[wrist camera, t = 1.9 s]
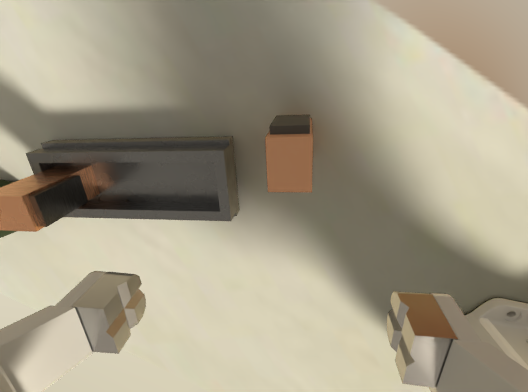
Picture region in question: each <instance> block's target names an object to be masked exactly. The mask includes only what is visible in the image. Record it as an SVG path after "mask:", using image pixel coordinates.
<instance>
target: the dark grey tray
mask: <svg viewBox="0 0 528 392" xmlns="http://www.w3.org/2000/svg"><path fill="white" fill-rule="evenodd" d="M41 144H42V147H43V148H42V149H38V150H35V151H32V152H28V153H26V156H27V158H28V161H29V163H30V166H31V168H32V171H33V173H34V175H32V176H29V177H27V178H24V179H21V180H19V181H16V182H13V183H11V184H8V185H6V186H3V187H0V230H5V231H35V232H36V231H38V230H40V229H42V228H43V227H47V226H49V225H50V224H52V223H54V222H55V221H57V220H59V219H60V218H62V217H85V218H126V219H167V220H209V221H231V220H232V219H233V217H234V216H237V214H238V212H239V199H238V189H237V178H236V168H235V157H234V146H233V136H226V137H179V138H132V139H84V140H52V141H48V142H44V143H41Z"/></svg>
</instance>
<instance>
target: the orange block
mask: <svg viewBox="0 0 528 392" xmlns="http://www.w3.org/2000/svg"><path fill="white" fill-rule="evenodd" d="M265 143H266V164H267V184H268V192H312V161H313V131H312V118H310V115H285V116H276V117H275V119H274V120H273V122H272V123H271V125H270V131H269V133H268V134H267V136H266V137H265Z"/></svg>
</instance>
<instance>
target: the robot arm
mask: <svg viewBox="0 0 528 392" xmlns="http://www.w3.org/2000/svg"><path fill="white" fill-rule="evenodd" d="M141 284H142V283H141V280H140V277H139V276H138V275H136V274H127V273H116V272H102V271H94V272H91V273H89V274H88V275H87V276H86V277H85V278H84V279H83V280H82V281H81V282H80V283H79V284H78V285H77V286H76V287H75V288H73V289H72V290H71V291H70V292H69V293H68V294H67V295H66V296H65V297H64V298H63V299H62V300H61V301H60V302H59V303H57V304H56V305H55V306H48V307H46V308H44V309H42V310H40V311H38V312H36V313H34V314H32V315H30V316H27V317H25V318H23V319H21V320H19V321H17V322H15V323H13V324H11V325H9V326H7V327H4V328H2V329H0V392H43V391H44V390H45V389H47V388H48V387H49V386H51V385H52V384H53V383H55V382H56V381H57V380H59V379H60V378H61V377H62V376H64V375H65V374H66V373H68V372H69V371H70V370H71V369H72V368H74V367H75V366H77V365H78V364H79V363H81V362H82V361H83V360H85V359H86V358H87V357H88V356H90V355H91V354H92V353H93V352H105V353H119V352H120V350H121V349H122V347H123V346H124V344H125V343H126V341H127V340H128V338H129V337H130V335H131V333H130V329H131V328H132V327H134V326H135V325H137V324H138V323H139V321H140V320H141V318H142V317H143V314H144V311H145V307H146V299H145V295H144V294H143V293H142V292H141V291H140V290H139V287H140V286H141ZM390 302H391V305H392V308H393V309H392V310H391V311H389V312H388V316H387V334H388V339H389V342H390V346H391V347H392V348H393V349H394V350H395V351H396V352H397V354H396V358H395V362H396V365H397V368H398V371H399V374H400V377H401V380H402V383H403V384H410V385H417V386H425V387H429V389H430V390H431V392H528V303H523V302H518V301H513V300H508V299H503V298H495V299H491V300H489V301H487V302H485V303H484V304H482V305H481V306H479V307H478V308H477V309H475V310H474V311H473V312H471V313H469V314H467V315H464V314H463V312H462V311H461V309H460V308H459V306H458V305H457V303H456V302H455V300H454V299H453V297H452V296H450V295H449V294H437V293H429V294H428V293H413V292H396V291H394V292H393V293H392V295H391V300H390Z"/></svg>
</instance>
